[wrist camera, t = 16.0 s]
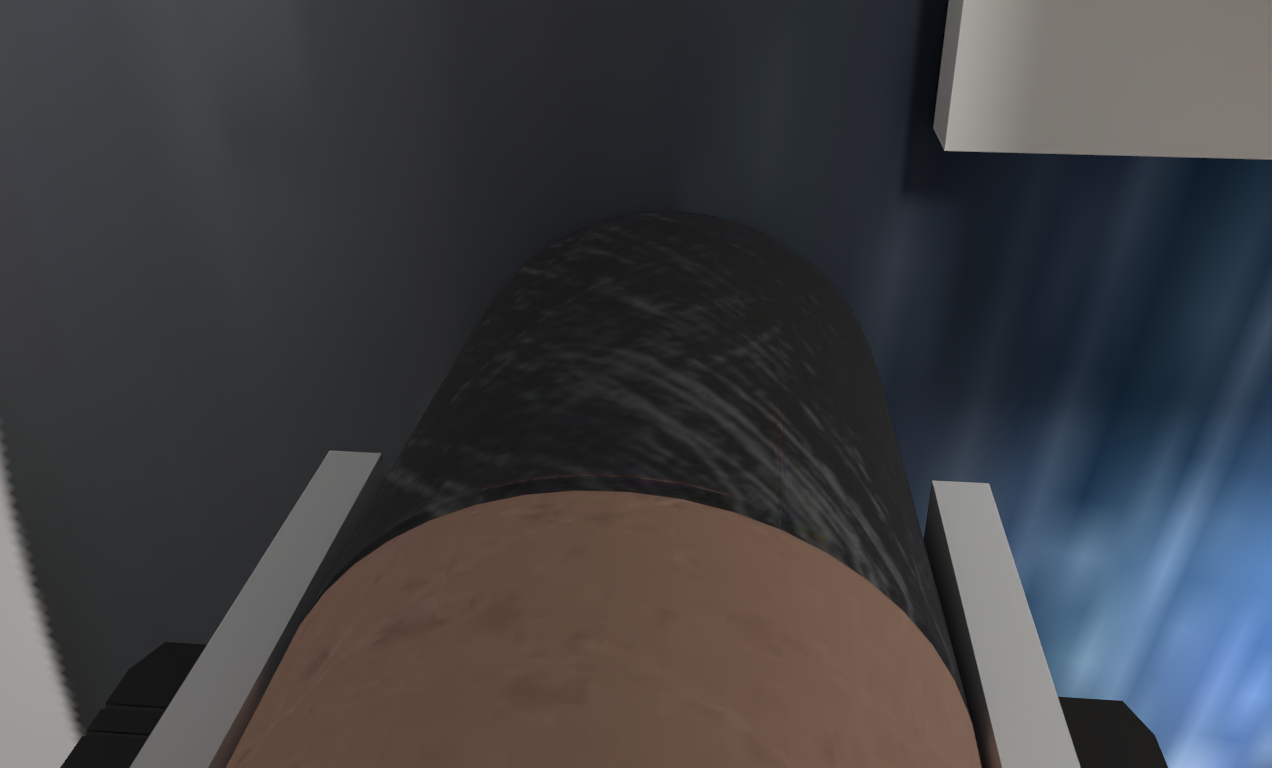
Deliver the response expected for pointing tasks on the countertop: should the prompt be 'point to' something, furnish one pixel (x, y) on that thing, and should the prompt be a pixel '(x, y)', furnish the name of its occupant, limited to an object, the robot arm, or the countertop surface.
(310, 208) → the countertop surface
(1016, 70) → the white flat square slab
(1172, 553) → the countertop surface
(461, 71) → the countertop surface
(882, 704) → the travel mug
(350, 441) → the countertop surface
